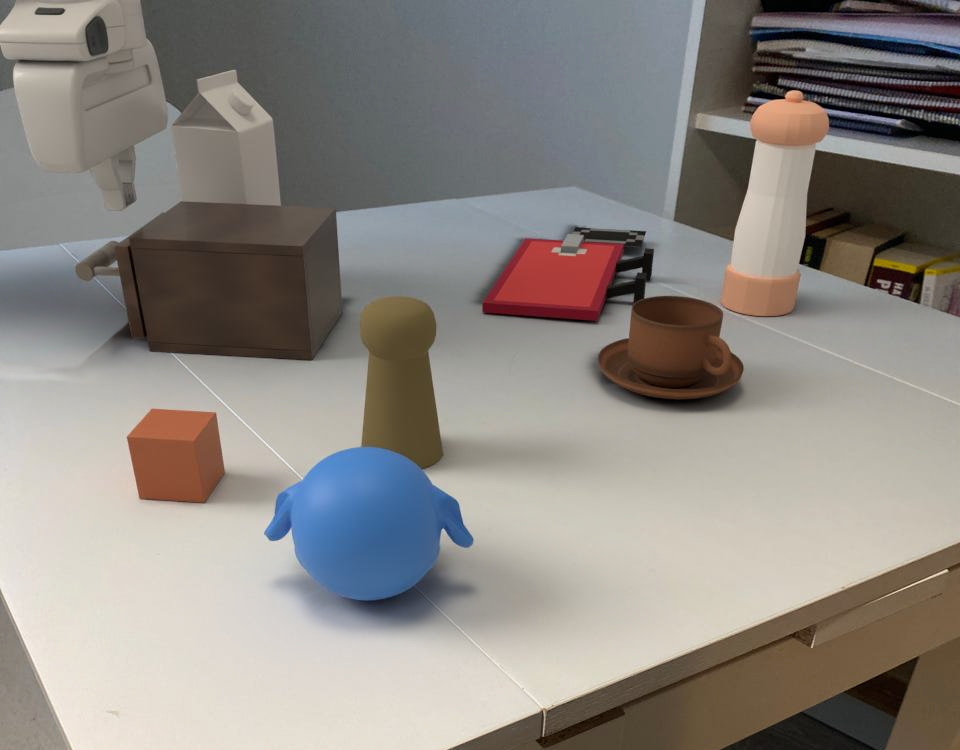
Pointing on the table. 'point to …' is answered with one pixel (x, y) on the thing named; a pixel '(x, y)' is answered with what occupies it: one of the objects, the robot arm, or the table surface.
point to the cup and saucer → (672, 350)
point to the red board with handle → (569, 275)
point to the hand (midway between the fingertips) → (121, 207)
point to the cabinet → (239, 279)
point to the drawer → (126, 271)
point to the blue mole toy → (367, 523)
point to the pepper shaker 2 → (774, 208)
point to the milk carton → (226, 146)
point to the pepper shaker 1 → (400, 379)
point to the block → (176, 455)
